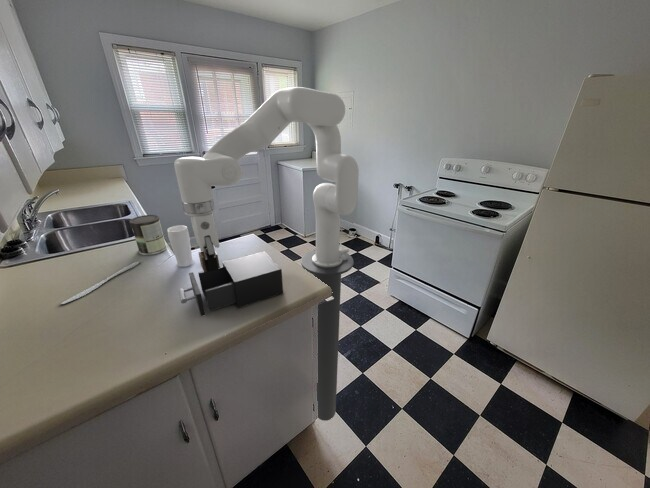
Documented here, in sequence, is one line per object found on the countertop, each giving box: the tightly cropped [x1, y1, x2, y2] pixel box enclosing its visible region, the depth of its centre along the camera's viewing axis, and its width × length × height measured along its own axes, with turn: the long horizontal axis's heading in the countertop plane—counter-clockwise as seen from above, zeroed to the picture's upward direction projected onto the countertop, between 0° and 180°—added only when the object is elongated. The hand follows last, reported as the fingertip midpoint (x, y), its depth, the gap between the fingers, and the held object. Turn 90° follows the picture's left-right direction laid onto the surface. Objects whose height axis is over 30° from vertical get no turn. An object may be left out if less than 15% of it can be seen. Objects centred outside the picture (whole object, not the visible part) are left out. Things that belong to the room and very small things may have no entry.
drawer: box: [177, 265, 237, 317], centre depth 82 cm, size 18×13×7 cm
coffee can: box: [129, 214, 168, 256], centre depth 113 cm, size 10×10×14 cm
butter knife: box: [60, 261, 140, 305], centre depth 93 cm, size 1×27×3 cm
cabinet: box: [221, 251, 284, 309], centre depth 88 cm, size 15×15×9 cm
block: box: [198, 250, 221, 272], centre depth 78 cm, size 4×4×4 cm
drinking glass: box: [166, 224, 194, 268], centre depth 101 cm, size 7×7×15 cm
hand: (210, 265), depth 79 cm, fingers closed on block, 4 cm apart
